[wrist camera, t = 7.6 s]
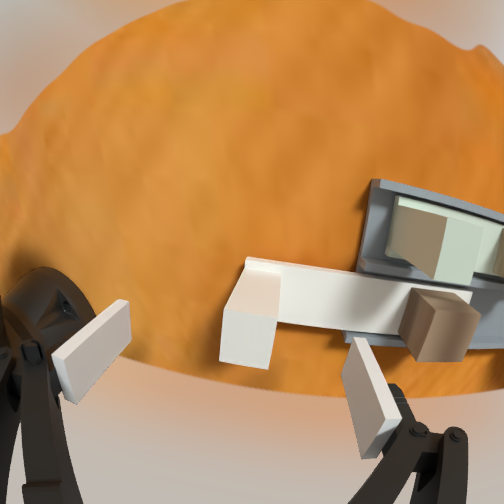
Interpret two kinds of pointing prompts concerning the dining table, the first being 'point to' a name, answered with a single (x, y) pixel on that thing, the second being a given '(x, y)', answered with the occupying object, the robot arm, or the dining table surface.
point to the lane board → (378, 263)
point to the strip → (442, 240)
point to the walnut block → (437, 325)
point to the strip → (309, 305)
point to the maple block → (500, 258)
